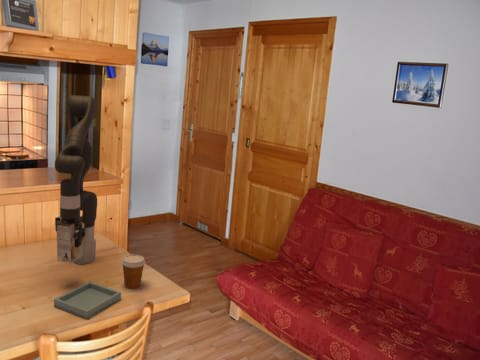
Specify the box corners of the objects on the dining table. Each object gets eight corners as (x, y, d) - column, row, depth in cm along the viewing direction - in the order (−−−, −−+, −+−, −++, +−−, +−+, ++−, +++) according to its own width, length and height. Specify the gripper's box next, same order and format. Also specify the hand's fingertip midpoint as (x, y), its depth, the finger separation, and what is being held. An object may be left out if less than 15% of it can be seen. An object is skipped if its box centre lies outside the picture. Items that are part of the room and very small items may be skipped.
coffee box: (69, 252, 184) (69, 216, 180) (83, 255, 183) (83, 218, 179) (56, 261, 175) (56, 223, 171) (71, 264, 174) (71, 225, 170)
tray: (89, 288, 179) (89, 281, 178) (120, 299, 173) (121, 292, 172) (54, 306, 163) (54, 299, 162) (86, 319, 157) (87, 311, 156)
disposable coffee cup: (130, 278, 191) (132, 252, 189) (148, 284, 187) (150, 258, 185) (115, 286, 183) (116, 259, 180) (134, 292, 179) (135, 265, 176)
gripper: (91, 206, 174) (90, 245, 178) (63, 199, 180) (64, 238, 184) (76, 211, 168) (76, 251, 171) (49, 204, 173) (49, 243, 177)
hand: (70, 244), depth 178 cm, fingers closed on coffee box, 7 cm apart
